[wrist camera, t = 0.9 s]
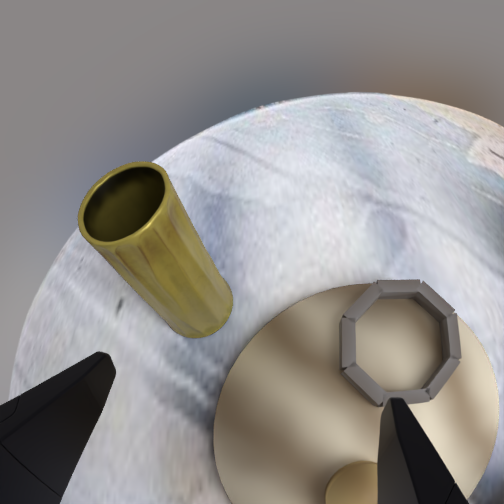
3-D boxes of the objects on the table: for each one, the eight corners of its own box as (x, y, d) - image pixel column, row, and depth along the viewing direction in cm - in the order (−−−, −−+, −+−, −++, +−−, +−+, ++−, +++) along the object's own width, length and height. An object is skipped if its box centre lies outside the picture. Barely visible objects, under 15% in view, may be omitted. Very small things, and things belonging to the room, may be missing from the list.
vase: (240, 277, 28) (196, 154, 15) (223, 345, 25) (151, 264, 12) (176, 267, 29) (101, 155, 17) (156, 330, 26) (51, 246, 14)
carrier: (347, 596, 12) (352, 612, 10) (159, 416, 22) (143, 415, 20) (529, 398, 18) (549, 393, 15) (362, 239, 28) (368, 220, 25)
